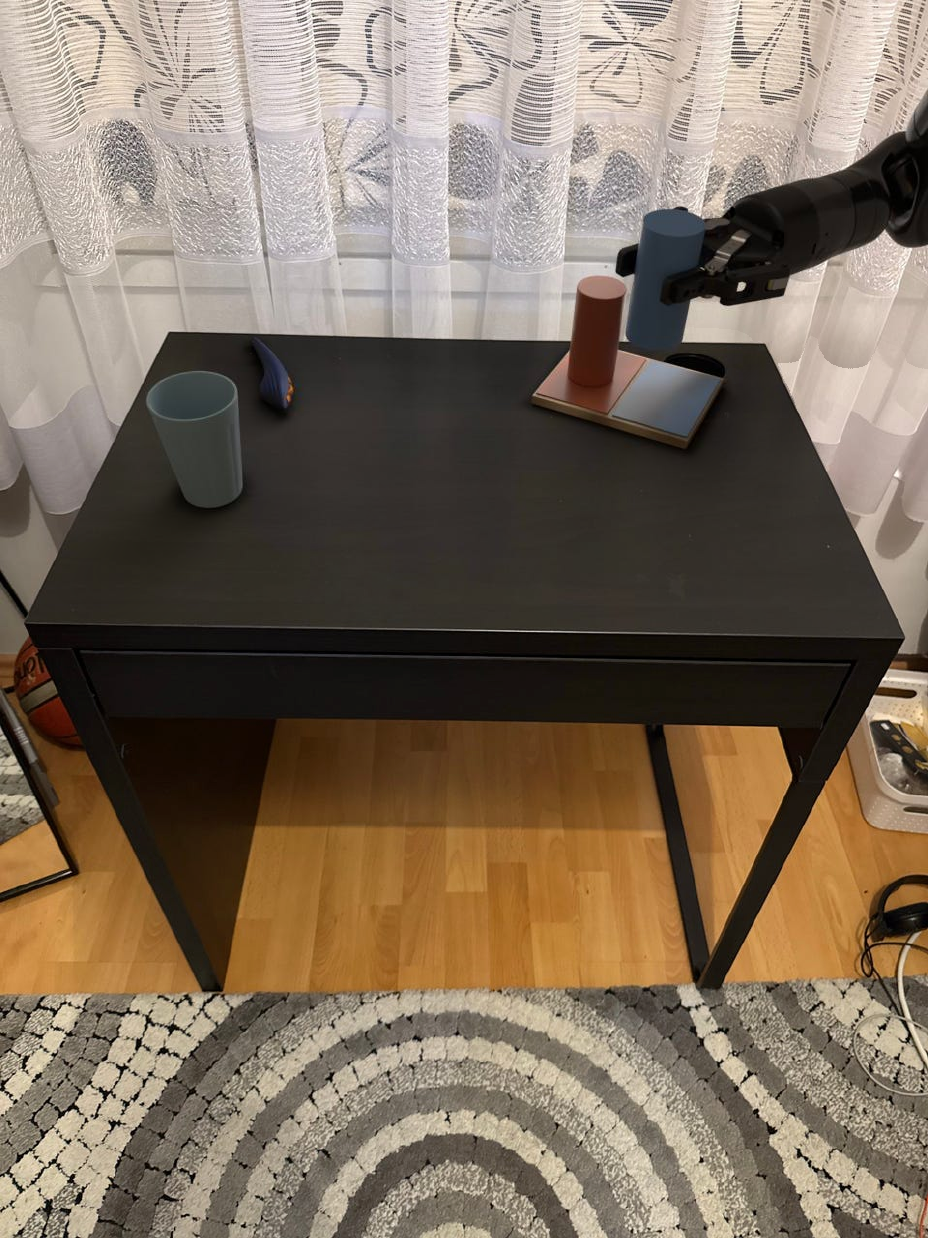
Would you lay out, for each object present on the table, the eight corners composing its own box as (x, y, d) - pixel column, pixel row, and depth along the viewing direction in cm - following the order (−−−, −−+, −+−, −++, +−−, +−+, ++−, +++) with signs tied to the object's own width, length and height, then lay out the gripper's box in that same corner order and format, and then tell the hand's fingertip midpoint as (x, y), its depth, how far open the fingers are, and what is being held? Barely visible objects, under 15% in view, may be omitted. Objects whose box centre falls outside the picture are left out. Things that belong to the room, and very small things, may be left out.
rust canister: (620, 369, 101) (634, 282, 94) (603, 391, 98) (616, 303, 91) (577, 357, 103) (588, 270, 95) (560, 379, 100) (569, 291, 92)
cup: (237, 455, 91) (218, 361, 84) (267, 499, 87) (250, 404, 79) (161, 479, 89) (134, 384, 81) (188, 526, 84) (163, 430, 76)
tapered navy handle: (244, 355, 106) (236, 336, 104) (273, 344, 106) (265, 325, 104) (272, 424, 95) (264, 404, 93) (304, 411, 95) (297, 391, 94)
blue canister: (690, 329, 82) (713, 216, 75) (672, 356, 79) (695, 241, 72) (636, 316, 84) (654, 203, 76) (616, 341, 80) (633, 227, 73)
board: (722, 386, 101) (724, 377, 101) (685, 449, 93) (687, 440, 93) (577, 346, 106) (578, 337, 106) (531, 403, 98) (532, 394, 98)
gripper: (739, 158, 84) (591, 199, 77) (865, 217, 76) (712, 269, 69) (721, 240, 89) (581, 285, 83) (837, 303, 81) (692, 359, 75)
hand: (641, 278), depth 76 cm, fingers closed on blue canister, 5 cm apart
